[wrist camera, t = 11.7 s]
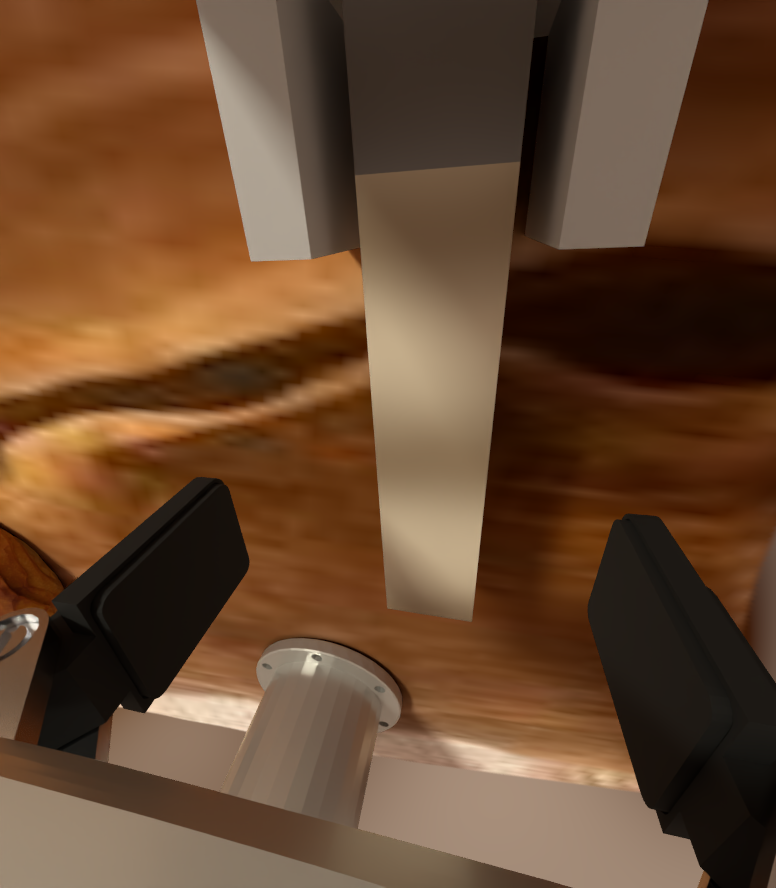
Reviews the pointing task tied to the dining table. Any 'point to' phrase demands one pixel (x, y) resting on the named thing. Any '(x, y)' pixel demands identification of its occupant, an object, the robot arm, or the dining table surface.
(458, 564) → the rail
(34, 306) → the dining table surface
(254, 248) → the post
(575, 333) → the dining table surface
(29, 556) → the croissant
